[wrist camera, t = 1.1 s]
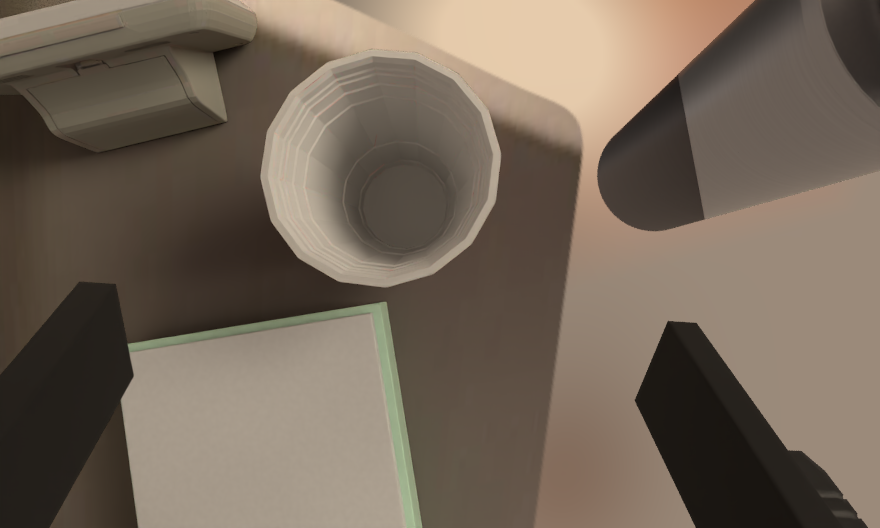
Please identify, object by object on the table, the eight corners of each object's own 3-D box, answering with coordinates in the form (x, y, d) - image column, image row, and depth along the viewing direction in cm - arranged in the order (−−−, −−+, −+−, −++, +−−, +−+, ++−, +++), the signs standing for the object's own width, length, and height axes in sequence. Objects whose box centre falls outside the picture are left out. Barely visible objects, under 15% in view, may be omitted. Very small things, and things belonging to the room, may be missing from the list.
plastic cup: (394, 87, 37) (365, -8, 25) (521, 194, 37) (553, 149, 25) (284, 213, 37) (203, 177, 25) (410, 323, 37) (389, 339, 25)
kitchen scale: (386, 301, 37) (378, 302, 33) (427, 560, 36) (424, 593, 32) (142, 341, 37) (104, 347, 33) (177, 599, 36) (143, 637, 32)
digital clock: (271, 11, 38) (200, -97, 27) (274, 147, 37) (203, 91, 27) (29, 21, 38) (-135, -82, 28) (29, 156, 38) (-137, 104, 27)
